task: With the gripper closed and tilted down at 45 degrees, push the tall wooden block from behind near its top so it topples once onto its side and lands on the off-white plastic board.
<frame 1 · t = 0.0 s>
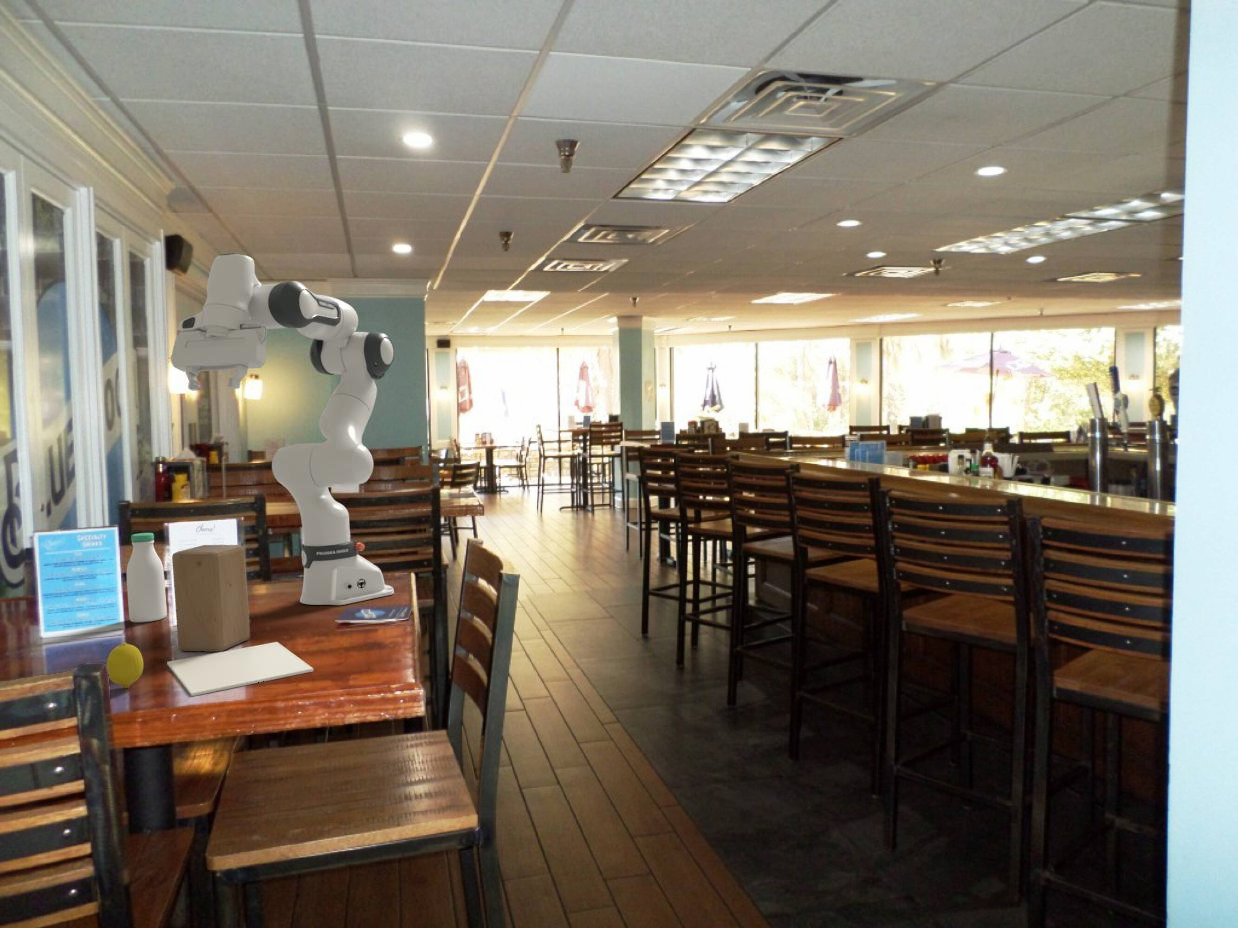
hand: (213, 388, 177), 52 cm above the table, tool tilted 20°, fingers open, 8 cm apart
lemon: (126, 689, 151), on the table
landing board: (238, 667, 160), on the table
wooden block: (215, 646, 177), on the table
milk bottle: (148, 619, 202), on the table
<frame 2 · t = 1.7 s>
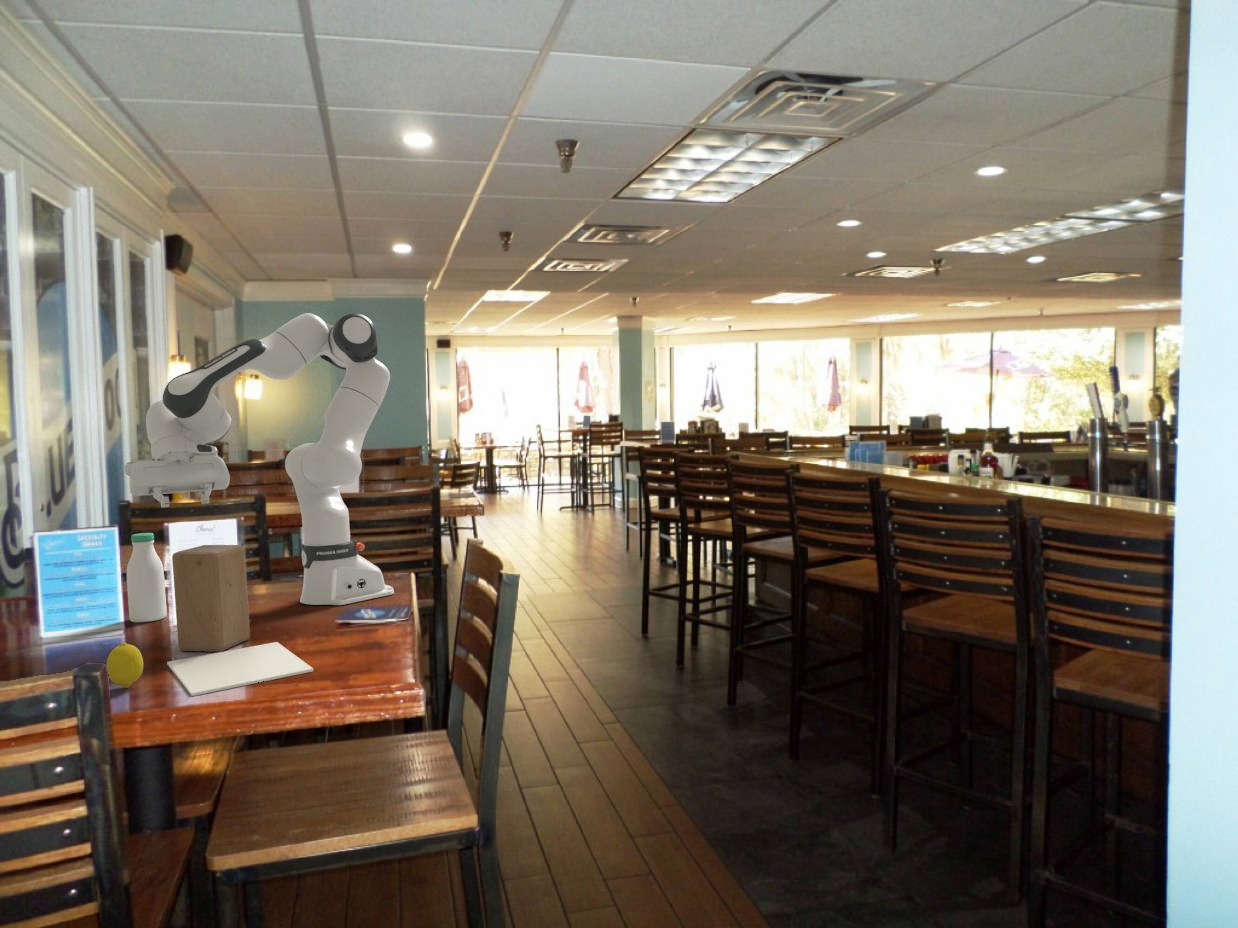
hand: (186, 503, 192), 27 cm above the table, tool tilted 45°, fingers open, 7 cm apart
nothing on the table moved.
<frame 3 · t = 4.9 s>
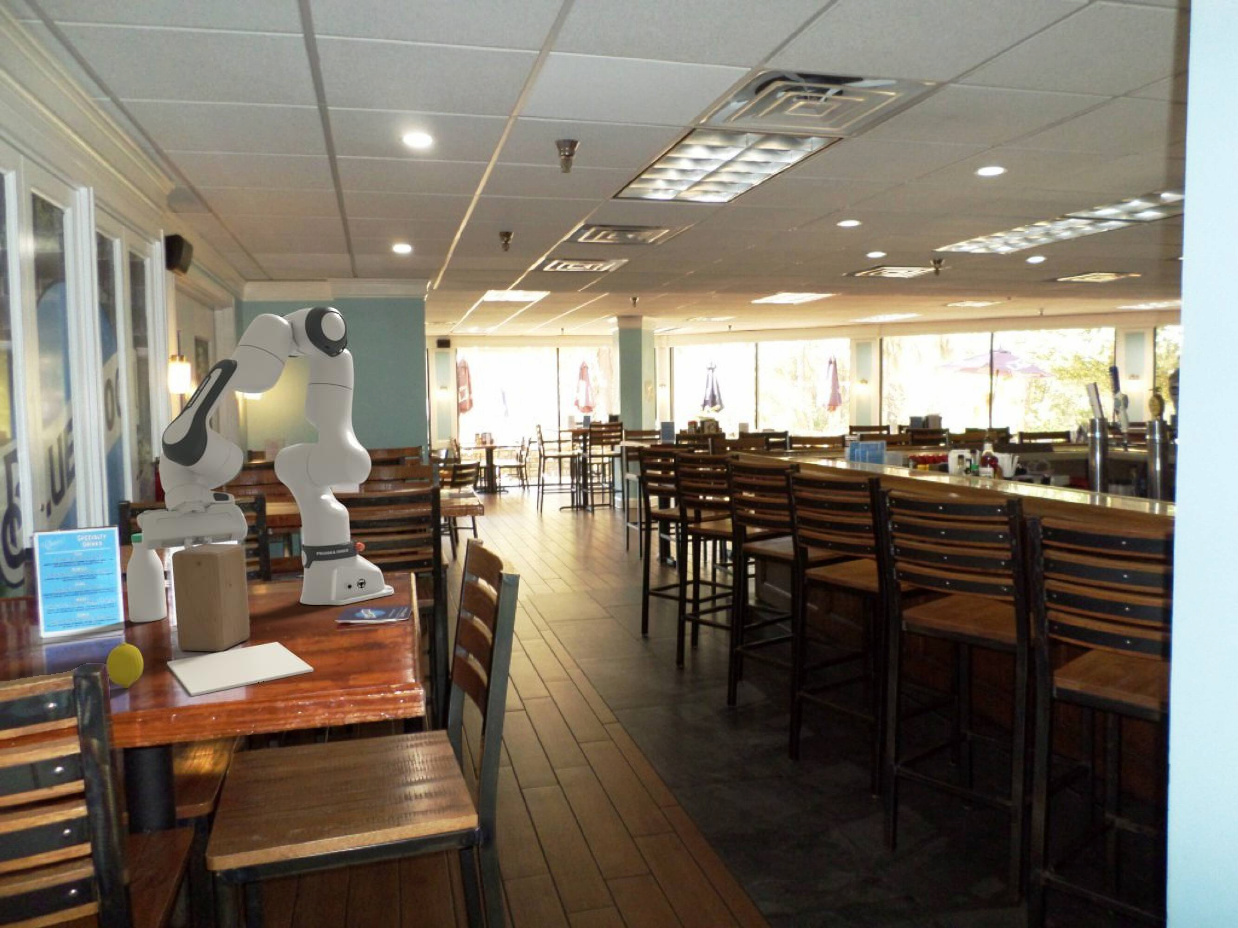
hand: (201, 557, 181), 17 cm above the table, tool tilted 45°, fingers closed
wooden block: (215, 645, 177), on the table, touching gripper
everything else where it was.
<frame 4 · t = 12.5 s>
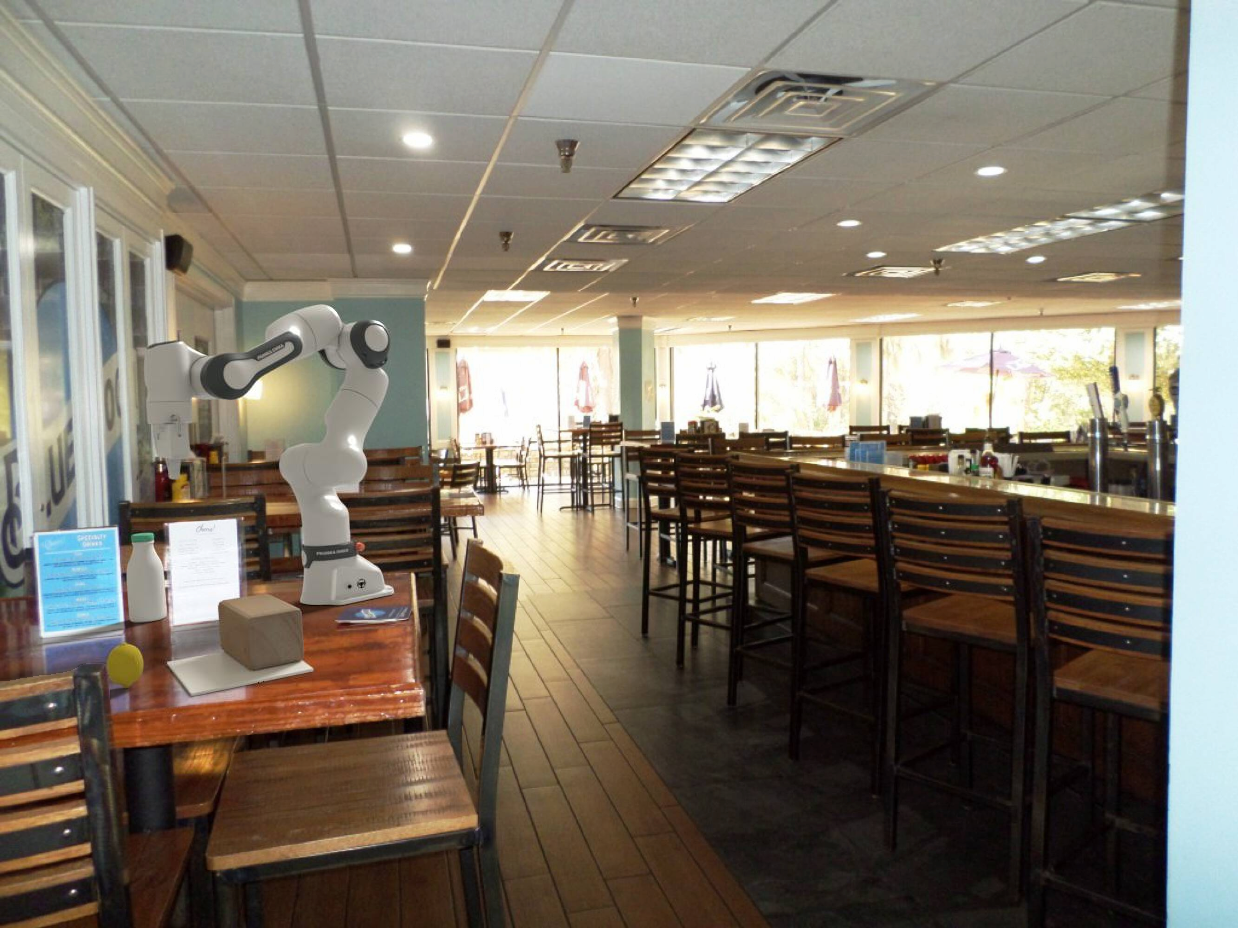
hand: (174, 478, 190), 33 cm above the table, tool pointing down, fingers closed
wooden block: (244, 620, 174), point 5 cm above the table, touching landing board
everything else where it was.
at the end: wooden block tilted 90°; wooden block touching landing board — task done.
